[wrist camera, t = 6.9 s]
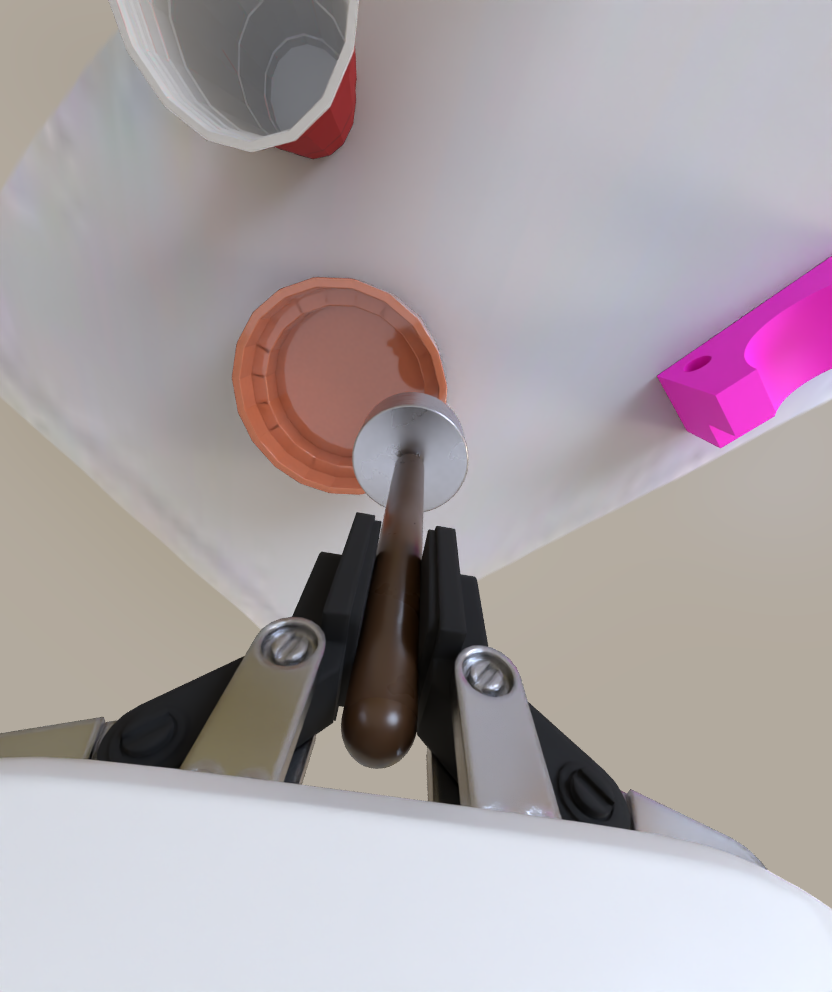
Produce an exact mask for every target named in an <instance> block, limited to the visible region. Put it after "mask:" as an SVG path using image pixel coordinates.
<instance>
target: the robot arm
mask: <svg viewBox="0 0 832 992" xmlns="http://www.w3.org/2000/svg"><path fill="white" fill-rule="evenodd" d="M380 528H381V521H376V520H375V515H370V514H364V513H358V512H357V513H356V515H355V518H354V521H353V524H352V527H351V530H350V533H349V536H348V539H347V542H346V545H345V548H344V550H343V553H342V555H339V554H333V553H327V552H321V553H320V554H319V556H318V558H317V561H316V563H315V565H314V567H313V570H312V572H311V574H310V577H309V579H308V581H307V584H306V586H305V588H304V591H303V593H302V595H301V597H300V600H299V602H298V604H297V607H296V609H295V611H294V614H293V616H292V617H288V618H282V619H279V620H276V621H274V622H271V623H270V624H268V625H267V626H265V627H264V628H263V629H262V630H261V631H260V632H259V633H258V635H257V636H256V638H255V639H254V641H253V642H252V644H251V646H250V648H249V650H248V651H247V653H246V655H245V656H244V657H241V658H239V659H237V660H235V661H233V662H231V663H229V664H227V665H224V666H222V667H220V668H218V669H216V670H214V671H212V672H209V673H207V674H205V675H203V676H201V677H199V678H197V679H195V680H192V681H191V682H189V683H186V684H184V685H182V686H180V687H178V688H175V689H173V690H171V691H169V692H167V693H165V694H163V695H161V696H158V697H156V698H154V699H152V700H150V701H148V702H146V703H144V704H141V705H139V706H138V707H136V708H134V709H133V710H131V711H129V712H127V713H126V714H125V715H123V716H122V717H121V718H120V719H119V720H117V721H111V722H105V720H104V717H100V718H93V719H87V720H80V721H74V722H68V723H62V724H56V725H50V726H43V727H37V728H31V729H24V730H18V731H12V732H6V733H0V992H832V909H831V908H830V907H828V906H827V905H825V904H824V903H823V902H821V901H819V900H818V899H816V898H815V897H813V896H812V895H810V894H809V893H807V892H806V891H804V890H803V889H801V888H799V887H797V886H795V885H793V884H792V883H789V882H788V881H786V880H784V879H782V878H781V877H779V876H777V875H775V874H773V873H771V872H770V871H768V870H767V869H766V868H765V866H764V865H763V863H762V862H761V861H760V860H759V859H758V858H757V857H756V856H755V855H753V853H752V852H751V851H750V850H748V849H747V848H746V847H745V846H743V845H742V844H740V843H739V842H737V841H736V840H734V839H732V838H731V837H729V836H726V835H725V834H723V833H720V832H718V831H716V830H714V829H712V828H710V827H708V826H706V825H704V824H702V823H700V822H698V821H696V820H694V819H691V818H689V817H687V816H685V815H683V814H681V813H679V812H677V811H675V810H673V809H671V808H669V807H667V806H665V805H662V804H660V803H658V802H656V801H654V800H652V799H650V798H648V797H646V796H644V795H642V794H640V793H638V792H635V791H634V790H631V789H630V790H629V792H628V793H625V792H623V791H621V790H620V789H619V787H618V786H617V784H616V783H615V782H614V780H613V779H612V778H611V777H610V776H609V775H608V774H607V773H606V772H605V770H603V769H602V768H601V767H600V766H599V765H598V764H597V763H595V761H593V760H592V759H591V758H590V757H589V756H588V755H587V754H586V753H585V752H583V751H582V750H581V749H580V748H579V747H578V746H577V745H576V744H574V743H573V742H572V741H571V740H570V739H569V738H568V737H567V736H566V735H564V734H563V733H562V732H561V731H560V730H559V729H558V728H557V727H556V726H554V725H553V724H552V723H551V722H550V721H549V720H548V719H547V718H546V717H544V716H543V715H542V714H541V713H540V712H539V711H538V710H536V709H535V708H534V707H533V706H532V705H531V704H530V703H529V702H528V701H527V697H526V694H525V690H524V687H523V684H522V680H521V677H520V674H519V672H518V670H517V668H516V666H515V665H514V664H513V663H512V661H511V660H510V659H509V658H508V657H506V656H505V655H504V654H503V653H501V652H499V651H497V650H495V649H493V648H491V647H488V642H487V636H486V631H485V625H484V619H483V613H482V607H481V601H480V595H479V589H478V584H477V579H476V577H473V576H467V575H461V574H460V568H459V559H458V550H457V541H456V532H455V529H452V528H446V527H441V526H436V528H435V530H428V533H427V538H426V542H425V546H424V551H423V555H422V559H421V583H420V614H419V645H418V673H419V684H418V720H417V730H416V732H417V735H418V736H419V737H420V739H421V740H422V741H423V742H424V743H425V745H426V746H427V755H426V758H427V759H426V760H427V790H428V801H422V800H415V799H407V798H399V797H392V796H384V795H377V794H369V793H362V792H354V791H346V790H338V789H331V788H323V787H316V786H308V785H302V783H303V780H304V777H305V773H306V770H307V767H308V763H309V760H310V757H311V754H312V750H313V747H314V744H315V739H316V734H317V733H319V732H320V731H322V730H323V729H325V728H326V727H328V726H329V725H330V724H332V723H333V720H334V721H335V720H336V716H337V712H338V707H339V706H342V707H344V705H345V700H346V695H347V690H348V686H349V681H350V676H351V671H352V667H353V664H354V660H355V655H356V650H357V645H358V640H359V636H360V631H361V626H362V621H363V616H364V612H365V607H366V602H367V597H368V592H369V588H370V583H371V578H372V573H373V568H374V564H375V559H376V553H377V547H378V541H379V534H380Z"/></svg>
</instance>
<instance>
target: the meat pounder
mask: <svg viewBox="0 0 832 992" xmlns="http://www.w3.org/2000/svg"><path fill="white" fill-rule="evenodd" d="M468 461H469V457H468V450H467V445H466V441H465V438H464V434H463V430H462V427H461V424H460V421H459V420H458V418H457V416H456V415H455V413H454V412H453V411H452V410H451V409H450V408H449V407H448V406H447V405H446V404H445V403H444V402H442V401H441V400H439V399H437V398H436V397H433V396H431V395H428V394H424V393H418V392H405V393H399V394H396V395H393V396H390V397H388V398H386V399H385V400H383V401H381V402H380V403H379V404H378V405H376V406H375V407H374V408H373V410H372V411H371V412H370V413H369V415H368V416H367V418H366V420H365V422H364V424H363V426H362V427H361V429H360V431H359V433H358V435H357V437H356V440H355V443H354V446H353V451H352V463H353V469H354V473H355V476H356V478H357V481H358V482H359V484H360V486H361V487H362V489H363V490H364V492H365V493H366V494H367V495H368V496H369V497H370V498H371V499H373V500H374V501H375V502H376V503H378V504H380V505H381V506H383V507H385V508H386V509H385V514H384V519H383V523H382V528H381V533H380V538H379V542H378V547H377V553H376V559H375V564H374V568H373V573H372V578H371V583H370V588H369V592H368V597H367V602H366V607H365V612H364V616H363V621H362V626H361V631H360V636H359V640H358V645H357V650H356V655H355V660H354V664H353V667H352V671H351V676H350V681H349V686H348V690H347V695H346V700H345V705H344V710H343V714H342V722H341V732H342V738H343V741H344V744H345V747H346V749H347V751H348V752H349V754H350V755H351V756H352V757H353V758H354V759H355V760H356V761H357V762H358V763H360V764H361V765H363V766H366V767H369V768H375V769H378V768H386V767H390V766H392V765H394V764H395V763H397V762H399V761H400V760H401V759H402V758H403V757H404V756H405V755H406V754H407V753H408V751H409V749H410V748H411V746H412V744H413V742H414V739H415V736H416V730H417V720H418V684H419V673H418V645H419V614H420V583H421V559H422V541H423V512H426V511H430V510H433V509H435V508H437V507H439V506H441V505H443V504H444V503H446V502H447V501H449V500H450V499H451V498H452V497H453V496H454V495H455V494H456V493H457V492H458V490H459V489H460V487H461V486H462V484H463V482H464V480H465V477H466V474H467V470H468Z"/></svg>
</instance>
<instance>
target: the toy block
mask: <svg viewBox="0 0 832 992" xmlns="http://www.w3.org/2000/svg"><path fill="white" fill-rule="evenodd" d="M830 369H832V256H831V257H830V258H828V259H827V260H825V261H824V262H822V263H821V264H819V265H818V266H816V267H815V268H814V269H812V270H811V271H809V272H808V273H806V274H805V275H803V276H802V277H800V278H799V279H797V280H796V281H795V282H793V283H792V284H790V285H789V286H787V287H786V288H784V289H783V290H781V291H780V292H779V293H777V294H776V295H774V296H773V297H771V298H770V299H768V300H767V301H765V302H764V303H762V304H761V305H760V306H758V307H757V308H755V309H754V310H752V311H751V312H749V313H748V314H746V315H745V316H744V317H742V318H741V319H739V320H738V321H736V322H735V323H733V324H732V325H730V326H729V327H727V328H726V329H725V330H723V331H722V332H720V333H719V334H717V335H716V336H714V337H713V338H711V339H710V340H708V341H707V342H706V343H704V344H703V345H701V346H700V347H698V348H697V349H695V350H694V351H692V352H691V353H690V354H688V355H687V356H685V357H684V358H682V359H681V360H679V361H678V362H676V363H675V364H673V365H672V366H671V367H669V368H668V369H666V370H665V371H663V372H662V373H660V374H659V375H657V377H658V379H659V381H660V383H661V385H662V386H663V388H664V390H665V392H666V394H667V395H668V397H669V399H670V401H671V403H672V405H673V406H674V408H675V410H676V412H677V414H678V416H679V417H680V419H681V421H682V423H683V425H684V427H685V428H686V430H687V431H688V432H690V433H692V434H694V435H696V436H698V437H700V438H702V439H704V440H706V441H707V442H709V443H711V444H713V445H715V446H717V447H719V448H722V447H724V446H725V445H727V444H729V443H730V442H732V441H734V440H735V439H737V438H739V437H740V436H742V435H744V434H745V433H747V432H749V431H751V430H752V429H754V428H756V427H757V426H759V425H761V424H762V423H764V422H766V421H767V420H769V419H771V418H772V417H774V416H775V414H776V411H777V409H778V408H779V406H780V405H781V403H782V402H783V401H784V400H785V399H786V398H787V397H788V396H789V395H790V394H791V393H792V392H793V391H794V390H796V389H797V388H798V387H800V386H801V385H803V384H804V383H806V382H807V381H809V380H811V379H812V378H814V377H816V376H818V375H819V374H821V373H823V372H825V371H827V370H830Z"/></svg>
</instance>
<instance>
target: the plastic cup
mask: <svg viewBox="0 0 832 992" xmlns="http://www.w3.org/2000/svg"><path fill="white" fill-rule="evenodd" d="M108 1H109V3H110V6H111V9H112V12H113V14H114V17H115V20H116V23H117V26H118V28H119V31H120V34H121V37H122V39H123V42H124V45H125V48H126V50H127V52H128V53H129V55H130V56H131V58H132V59H133V61H134V62H135V64H136V65H137V67H138V68H139V70H140V71H141V73H142V74H143V76H144V77H145V79H146V80H147V82H148V83H149V85H150V86H151V88H152V89H153V91H154V92H155V94H156V95H157V97H158V98H159V100H160V101H161V103H162V104H163V106H164V107H166V108H167V109H168V110H169V111H171V112H172V113H173V114H174V115H176V116H177V117H178V118H179V119H181V120H182V121H183V122H184V123H186V124H187V125H188V126H189V127H191V128H192V129H193V130H194V131H196V132H197V133H198V134H199V135H201V136H202V137H203V138H204V139H206V140H207V141H211V142H214V143H218V144H222V145H226V146H229V147H233V148H237V149H241V150H244V151H248V152H256V151H260V150H264V149H267V148H271V147H276V148H279V149H281V150H285V151H288V152H292V153H295V154H297V155H301V156H304V157H308V158H311V159H316V158H320V157H324V156H329V155H331V154H332V153H333V152H335V151H336V150H337V149H338V148H339V147H340V146H341V145H343V144H344V142H345V140H346V138H347V135H348V133H349V131H350V129H351V127H352V125H353V120H354V112H355V103H356V92H355V89H356V80H357V77H356V56H355V35H356V25H357V16H358V6H359V0H108Z"/></svg>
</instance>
